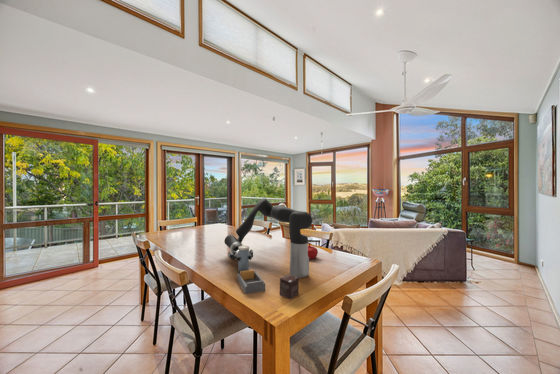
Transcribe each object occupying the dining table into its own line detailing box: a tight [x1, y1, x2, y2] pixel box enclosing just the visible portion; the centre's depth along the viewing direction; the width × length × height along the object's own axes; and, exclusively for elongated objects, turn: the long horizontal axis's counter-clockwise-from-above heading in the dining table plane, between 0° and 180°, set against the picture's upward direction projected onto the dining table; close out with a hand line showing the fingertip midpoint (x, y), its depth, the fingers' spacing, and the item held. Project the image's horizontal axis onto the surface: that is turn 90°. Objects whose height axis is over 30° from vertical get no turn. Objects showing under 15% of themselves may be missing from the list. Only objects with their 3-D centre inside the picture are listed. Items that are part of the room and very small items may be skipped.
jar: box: [237, 244, 250, 272], centre depth 119 cm, size 6×6×12 cm
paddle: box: [240, 269, 255, 280], centre depth 111 cm, size 7×1×4 cm, turn 113°
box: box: [279, 273, 300, 300], centre depth 97 cm, size 6×6×7 cm
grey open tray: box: [237, 270, 266, 295], centre depth 106 cm, size 9×16×4 cm, turn 23°
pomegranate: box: [308, 243, 319, 260], centre depth 147 cm, size 10×10×9 cm
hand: (244, 258), depth 116 cm, fingers closed on jar, 5 cm apart
